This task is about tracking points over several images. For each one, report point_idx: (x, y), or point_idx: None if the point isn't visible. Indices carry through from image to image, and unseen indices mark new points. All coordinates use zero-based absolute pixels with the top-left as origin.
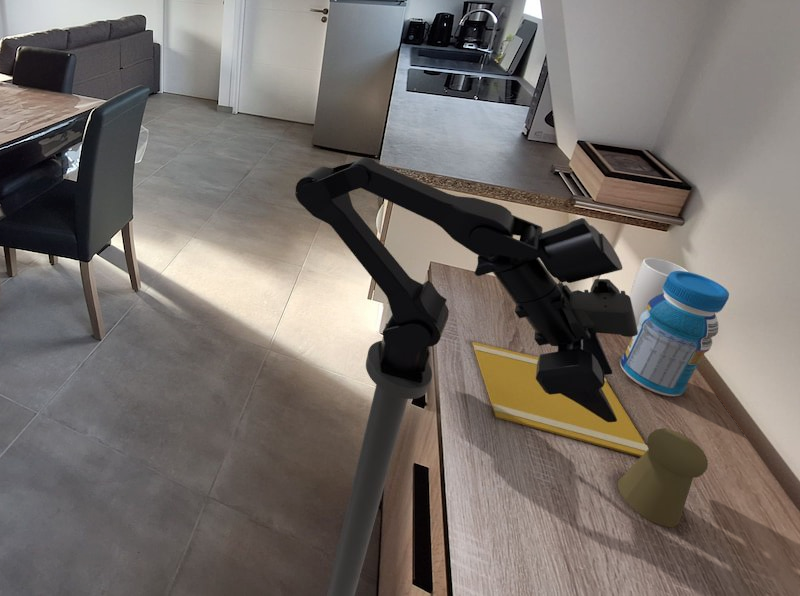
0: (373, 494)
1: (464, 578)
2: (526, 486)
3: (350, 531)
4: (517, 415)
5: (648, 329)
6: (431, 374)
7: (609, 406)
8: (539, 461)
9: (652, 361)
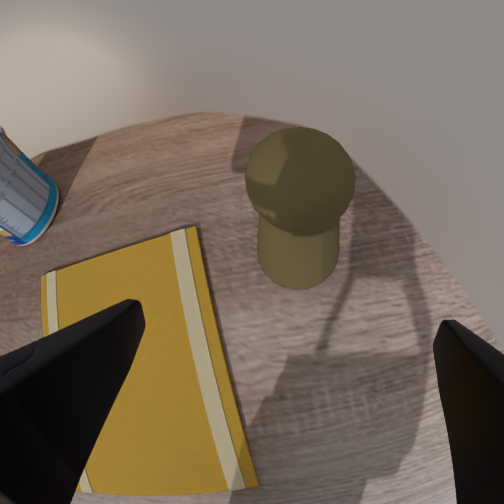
0: None
1: None
2: (397, 427)
3: None
4: (232, 450)
5: None
6: None
7: (497, 356)
8: (326, 413)
9: (16, 201)
